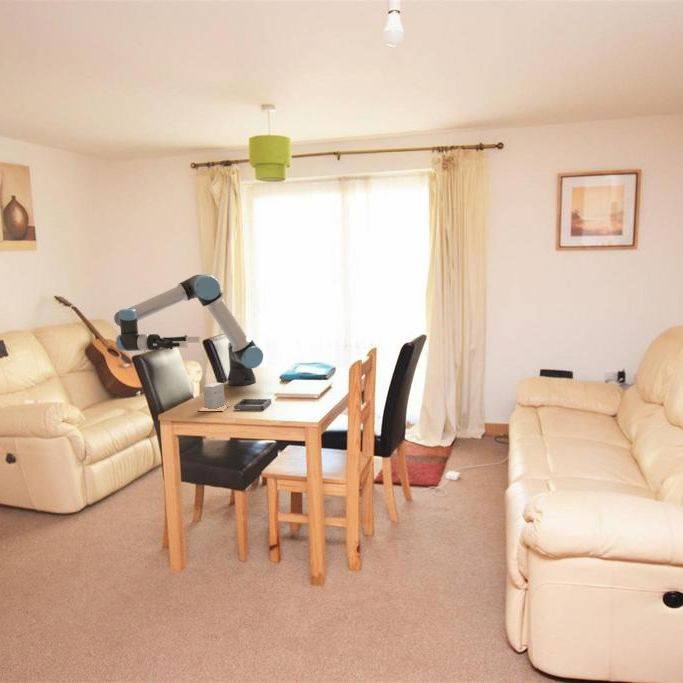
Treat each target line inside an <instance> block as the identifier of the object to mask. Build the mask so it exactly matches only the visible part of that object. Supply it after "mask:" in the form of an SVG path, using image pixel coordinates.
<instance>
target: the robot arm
mask: <svg viewBox="0 0 683 683" xmlns="http://www.w3.org/2000/svg"><path fill="white" fill-rule="evenodd" d="M223 297H224V292H223V291H222V289H221V284H220V282H219V281H218V279H217V278H216V277H215V276H213V275H210V274H195V275H192V276H191V277H189V278H187V279H184V280H183V281H181V282H179V283H177V286H174V287H173V288H170V289H168V290H166V291H165V292H164V291H163V292H162V293H159V294H157V295H155V296H153V297H150V298H148V299H146V300H144V301H142V302H140V303H137V304H134V305H133V306H130V307H128V308H122V309H119V311H117V312H116V313H114V317H113V321H114V323H115V324H116V325H117V326H118V327H119V328H120V334H118V335H117V336H116V339H115V340H116V341H115V345H116V348H117V349H118V350H119V351H125V352H126V351H127V352H132V351H133V352H136V351H139V352H141V351H143V352H144V353H146V352H147V351H150V352H151V351H153V352H154V351H159V350H160V349H161V348H162V349H170V350H173V348H174V349H175V348H178V349H179V348H188V344H190V343H193V344H195V343H196V344H197V343H200V342H201V339H200V336H188V335H186V334H185V335H184V336H171V337H168V336H167V337H165V336H164V337H161V335H159V334H158V333H152V334H151V333H150V334H149V333H148V334H147V333H145V334H144V333H143V334H142V333H140V334H139V329H138V328H139V327H138V322H140V321H141V320H143V319H145V318H148V317H150V316H153V315H154V314H157V313H159V312H161V311H163V310H165V309H167V308H170V307H172V306H175V305H176V304H179V303H181V302H183V301H186V302H188V301H190V300H192V299H193V300H194V299H198V301H199V303H200V304H201V305H202V307H205V308H207V309H208V311H209V313H211V315H212V317H213V318H214V320H215V321H216V323H217V324H218V326H219V327H220V330H222V332H223V334H224V335H225V337H226V338H227V340H228V341H229V342H228V347H227V349H228V350H227V351H228V359H229V360H228V361H229V362H228V363H229V372H228V376H227V378H226V379H227V382H226V383H227V385H229V386H237V387H238V386H247V385H248V386H249V385H251V384H255V383H256V382H257V379H256V375H255V372H254V371H253V369H256V368H258V367H259V366H260V365H261V364H262V363H263V360H264V352H263V350H262V349H261V347H258V346H257V345H256V343H255V342H254V341H253V339H252V338H251V337H247V335H246V333H245V332H244V330H243V328H242V327H241V325H240V324H239V322H238V320H237V319H236V317H235V316H234V315H233V313H232V311H231V310H230V308H229V307H228V305H227V303H226V302H225V300H224V298H223Z"/></svg>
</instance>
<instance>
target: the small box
mask: <svg viewBox="0 0 683 683" xmlns="http://www.w3.org/2000/svg"><path fill="white" fill-rule="evenodd" d="M202 390H203V404H204V405H203V406H205V408H208V409H217V408H219V407H222V406H224V405H225V404H226V400H225V387H224V383H223V382H214V381H213V382H211V383H207V384H205V385H203V386H202Z"/></svg>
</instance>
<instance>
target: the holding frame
mask: <svg viewBox="0 0 683 683" xmlns="http://www.w3.org/2000/svg"><path fill="white" fill-rule="evenodd" d="M245 403H247V404H245ZM251 404H252V405H251ZM271 404H272V399H271V398H242V399H241V400H240V401H238V402H237V403H236V404H235V405H233V408H234V409H240V410H239V411H251V410H263V411H265V410H266V409H267V408H268V407H269V406H270V405H271ZM234 409H233V410H234ZM264 409H265V410H264Z"/></svg>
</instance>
